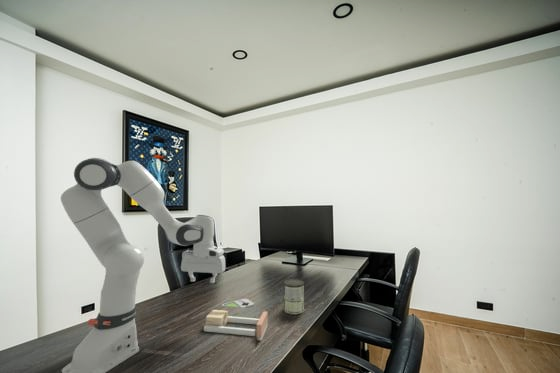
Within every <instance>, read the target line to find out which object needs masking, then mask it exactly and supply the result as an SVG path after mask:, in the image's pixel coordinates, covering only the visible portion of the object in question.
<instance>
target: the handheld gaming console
mask: <svg viewBox="0 0 560 373" xmlns="http://www.w3.org/2000/svg"><path fill="white" fill-rule="evenodd" d="M222 306H223V307H234V308H247V309H248V308H251V307H255V302H253V301H251V300H250V299H248V298H241V299H237V300H233V301H229V302H225V303H222V304H221V307H222Z"/></svg>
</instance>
